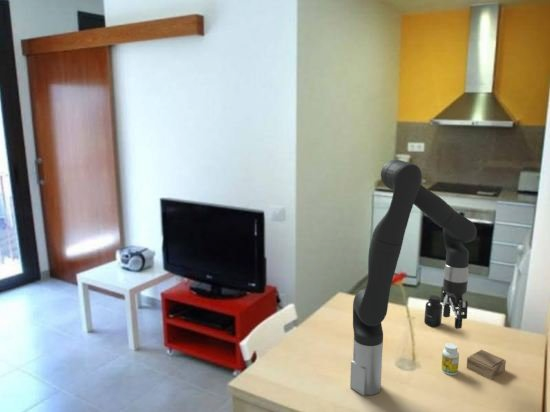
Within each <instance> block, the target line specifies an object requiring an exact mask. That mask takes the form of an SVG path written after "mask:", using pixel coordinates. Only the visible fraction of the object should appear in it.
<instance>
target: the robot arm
mask: <svg viewBox="0 0 550 412" xmlns="http://www.w3.org/2000/svg"><path fill="white" fill-rule="evenodd" d="M422 177H423V175H422V170H421V168H420V167H419V166H418V165H416V164H414V163H412V162H408V161H404V160H401V159H393V160H389V161H387V162H386V163H385V164H383V166H382V167H381V170H380V180H381V182H382V183H383V185H384V186H385V187H386V188H387V189H389V190H392V191H393V192H392V193H393V194H392V196H391V201H390V204H389V207H388V210H387V211H386V212H385V215H384V216H383V217H382V218H381V220H380V221H379V222H378V223H377V224H376V226H375V228H374V229H373V231H372V235H371V238H370V244H369V249H368V254H367V255H368V257H367V269H368V270H367V282H366V287H365V288H363V289H361V290H359V291H358V292H357V293H356V294H355V295H354V298H353V302H352V330H353V349H352V350H353V352H352V354H353V355H352V356H353V357H352V361H350V377H349V378H350V379H349V380H350V383H349V385H350V386H349V387H350V389H352V390H353V391H355V392H357V393H358V394H360V395H361V396H363V397H365V396H373V395H376V394H378V393H380V391H381V390H382V389H381V388H382V373H383V372H382V371H383V370H382V369H383V367H382V366H383V351H384V349H383V348H384V347H383V345H384V329H383V326H382V325H383V324H382V322H383V321H384V319H385V318H386V315H388V314H387V313H388V307H389V300H390V293H391V288H392V283H393V279H394V276H395V273H396V269H397V266H398V261H399V258H400V255H401V250H402V247H403V243H404V239H405V234H406V230H407V228H408V227H407V226H408V223H409V219H410V215H411V213H412V209H413V207H414V206H416V208H418V209H419V210H420V211H421V212H423V214H425V216H426V217H428V218H429V219H430V220H431V221H432V222H433V223H434V224H435V225H437V226H438V227H440V228H442V236H443V241H444V247H445V251H446V255H445V265H444V271H443V281H442V287H441V292H440V293H441V294H440V298H441V300H440V301H441V304H442V306H443V309H442V317H444V318H450V317H451V309H452V312H454V317H455V318H454V325H453V327H454V328H455V329H456V330H457V329H458V330H460V329H462V328H463V320H466V319H467V318H468V305H469V303H468V301H467V300H464V298H463V295H465V294H466V293H467V292H468V282H469V281H468V280H469V261H470V260H469V259H470V251H469V249H468V248H467V247H465V246H464V244H465V243H466V244H467V243H471V242H473V241H474V240H475V239H476V237H477V233H478V230H477V227H476V225H475V224H474V222H472V221H471V220H470V219H469V218H467V217H466V216H464V215H462V214H461V213H459V212H457V211H456V210H454V208H453V207H452V206H451V205H450V204H449V203H447V202H446V201H445V200H444V199H443V198H441V197H440V196H439V195H437V194H436V193H434V192H433V191H431V190H430V189H428V188H426V187H425V186H424V185H423V184H422V179H423V178H422Z"/></svg>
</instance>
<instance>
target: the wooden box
mask: <svg viewBox="0 0 550 412" xmlns="http://www.w3.org/2000/svg"><path fill="white" fill-rule="evenodd" d="M506 362H507V359H504V358H502V357H499V356H497V355H495V354H492V353H490V352H488V351H486V350H483V349H479V350H478V351H475V353H473V354H471V355H469V356H467V358H466V369H467V370H468V369H469V370H470V371H472V372H473V373H474V372H475V373H477V374H478V375H480V376H482V377H485V378H487V379H489V380H493V379H494V378H496V377H497V376H499V375H500V374H502V373H503V372H504V371H505V370H506Z"/></svg>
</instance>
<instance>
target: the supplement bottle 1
mask: <svg viewBox="0 0 550 412" xmlns="http://www.w3.org/2000/svg"><path fill="white" fill-rule="evenodd" d="M440 300H441V296H438V295H434V294H433V295H429V296H428V301H427V302H426V303H425V308H424V324H425V325H426V326H428V327H431V328H438V327H440V326H441V325H442V319H443V309H444V306H443V303H441V301H440Z"/></svg>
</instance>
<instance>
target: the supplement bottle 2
mask: <svg viewBox="0 0 550 412" xmlns="http://www.w3.org/2000/svg"><path fill="white" fill-rule="evenodd" d="M459 362H460V353H459V352H458V345H457V344H454V343H452V342H448V343H447V342H446V343H445V344H444V349H443V350H442V355H441V371H442V372H443V373H444V374H446V375H449V376H455V375H457V374H458V371H459Z"/></svg>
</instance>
